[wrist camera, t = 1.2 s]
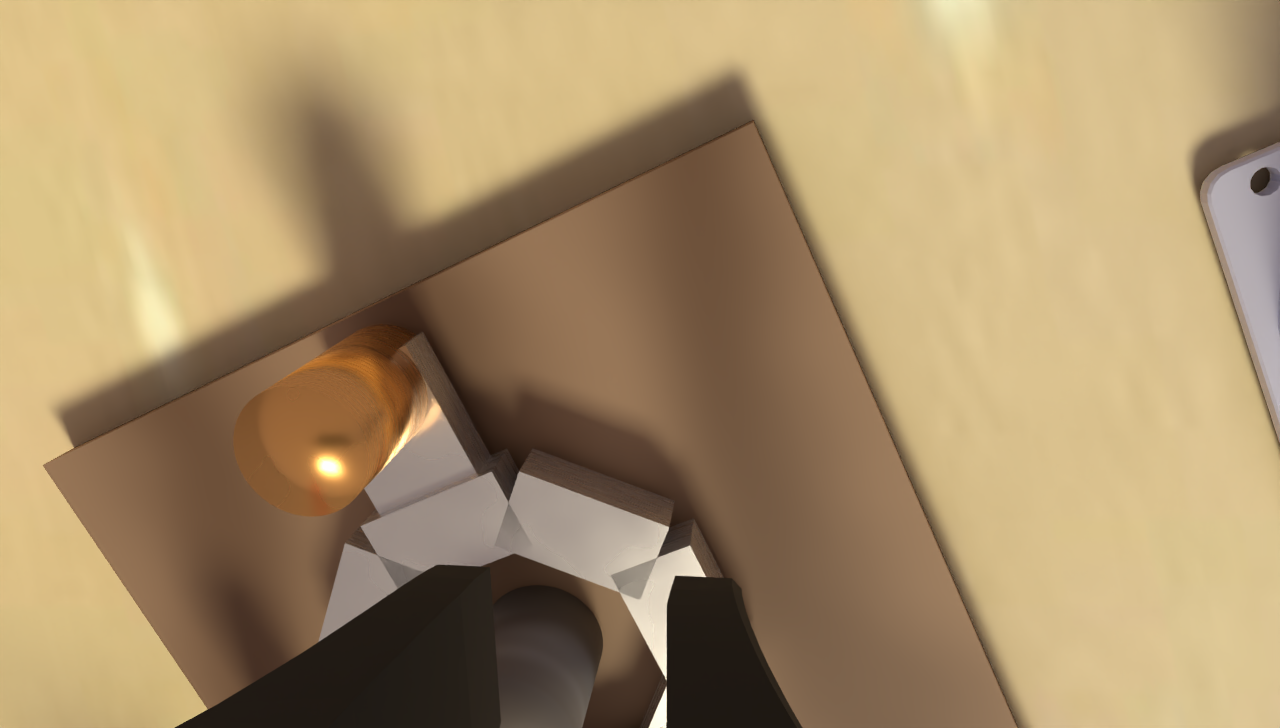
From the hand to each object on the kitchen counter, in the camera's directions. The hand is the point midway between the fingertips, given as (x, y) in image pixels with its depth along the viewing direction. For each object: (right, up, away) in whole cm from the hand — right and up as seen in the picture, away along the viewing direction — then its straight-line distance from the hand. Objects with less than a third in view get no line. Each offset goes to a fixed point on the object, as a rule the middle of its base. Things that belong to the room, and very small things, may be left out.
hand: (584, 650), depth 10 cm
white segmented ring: (-2, -2, +10) cm, 11 cm away
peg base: (-1, -3, +12) cm, 12 cm away
